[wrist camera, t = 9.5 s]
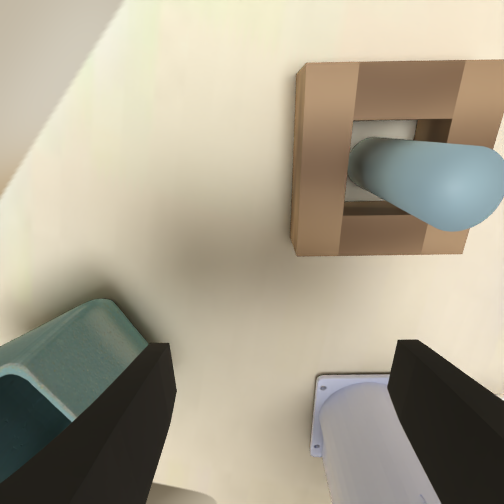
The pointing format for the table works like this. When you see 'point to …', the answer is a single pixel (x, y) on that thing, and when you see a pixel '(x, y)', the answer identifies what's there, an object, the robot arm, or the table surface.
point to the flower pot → (59, 375)
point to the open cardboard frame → (381, 108)
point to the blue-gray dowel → (431, 179)
